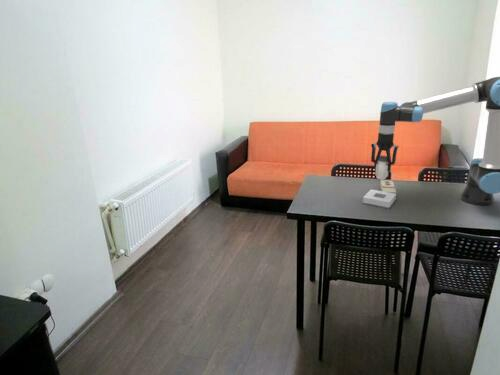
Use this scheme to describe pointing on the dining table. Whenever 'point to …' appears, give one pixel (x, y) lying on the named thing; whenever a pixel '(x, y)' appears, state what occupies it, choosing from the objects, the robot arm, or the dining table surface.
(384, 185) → the electrical outlet
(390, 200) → the socket block
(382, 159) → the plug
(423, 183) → the dining table surface
